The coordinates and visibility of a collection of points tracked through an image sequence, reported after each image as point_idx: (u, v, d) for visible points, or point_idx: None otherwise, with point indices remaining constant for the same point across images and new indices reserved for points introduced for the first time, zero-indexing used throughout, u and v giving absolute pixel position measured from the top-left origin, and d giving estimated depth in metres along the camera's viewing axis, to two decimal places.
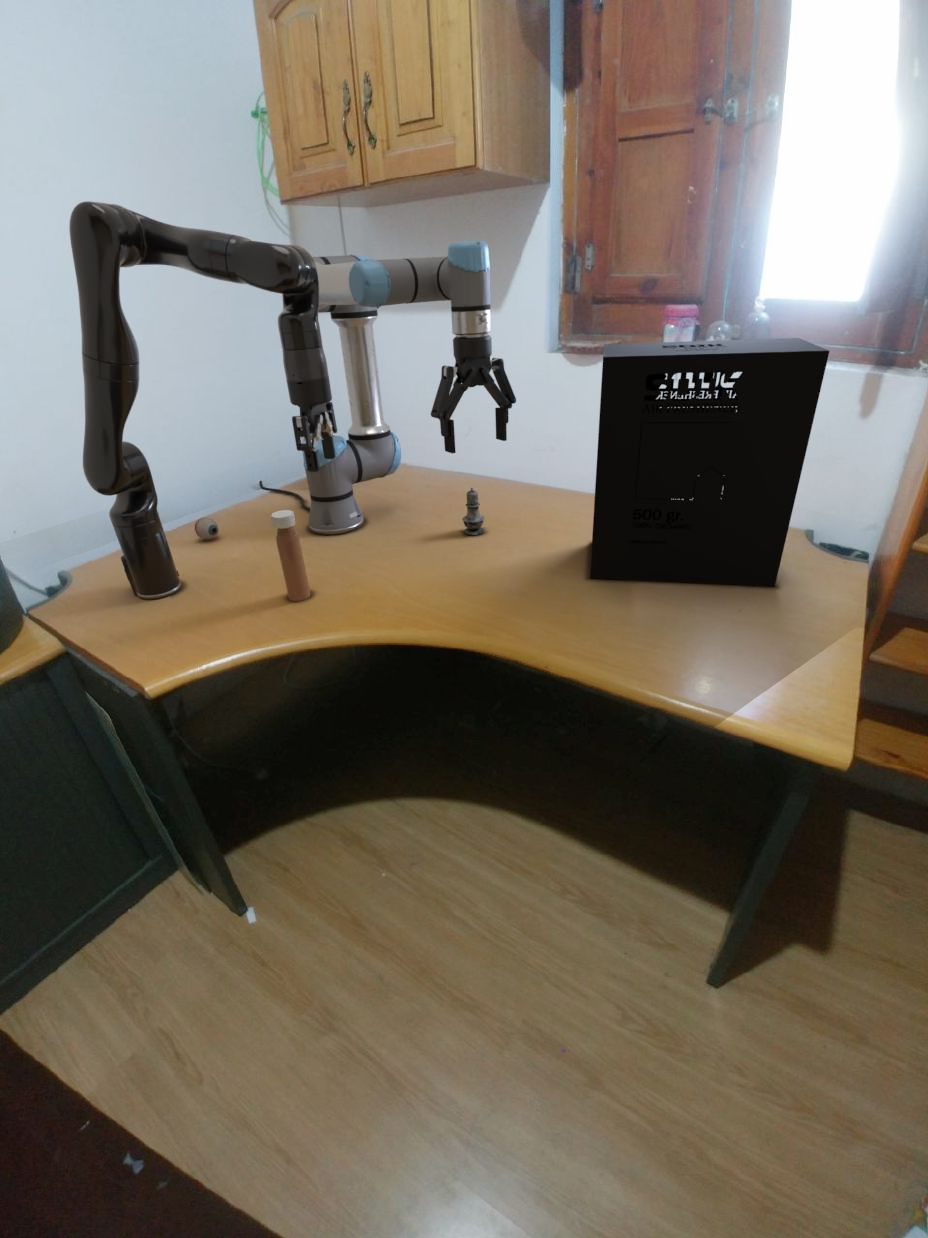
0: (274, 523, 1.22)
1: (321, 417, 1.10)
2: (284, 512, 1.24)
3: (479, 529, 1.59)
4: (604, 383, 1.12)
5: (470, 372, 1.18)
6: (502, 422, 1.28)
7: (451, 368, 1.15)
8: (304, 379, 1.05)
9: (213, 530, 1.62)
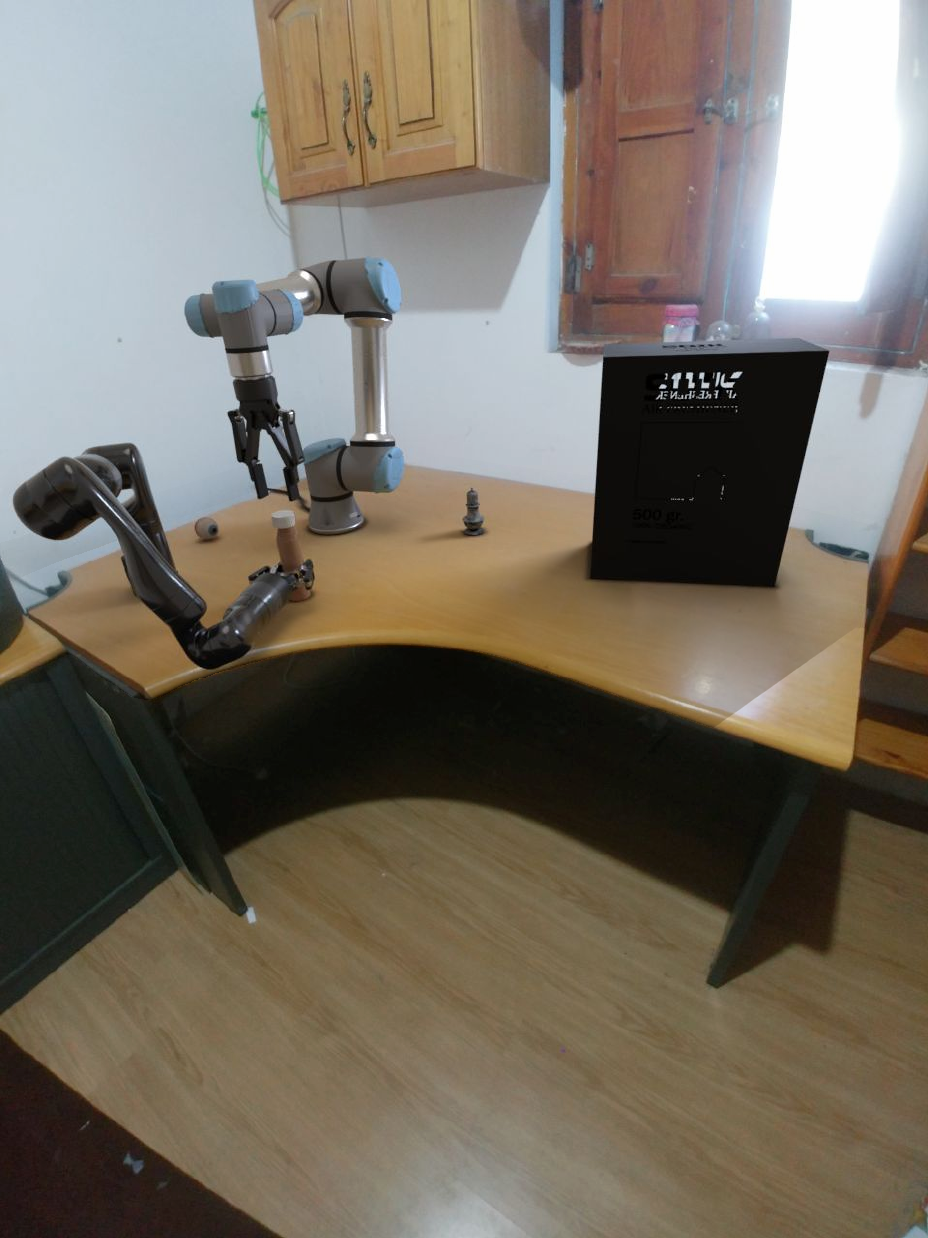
0: (274, 523, 1.23)
1: None
2: (284, 512, 1.24)
3: (479, 529, 1.59)
4: (604, 383, 1.12)
5: None
6: (263, 477, 1.21)
7: None
8: None
9: (213, 530, 1.62)
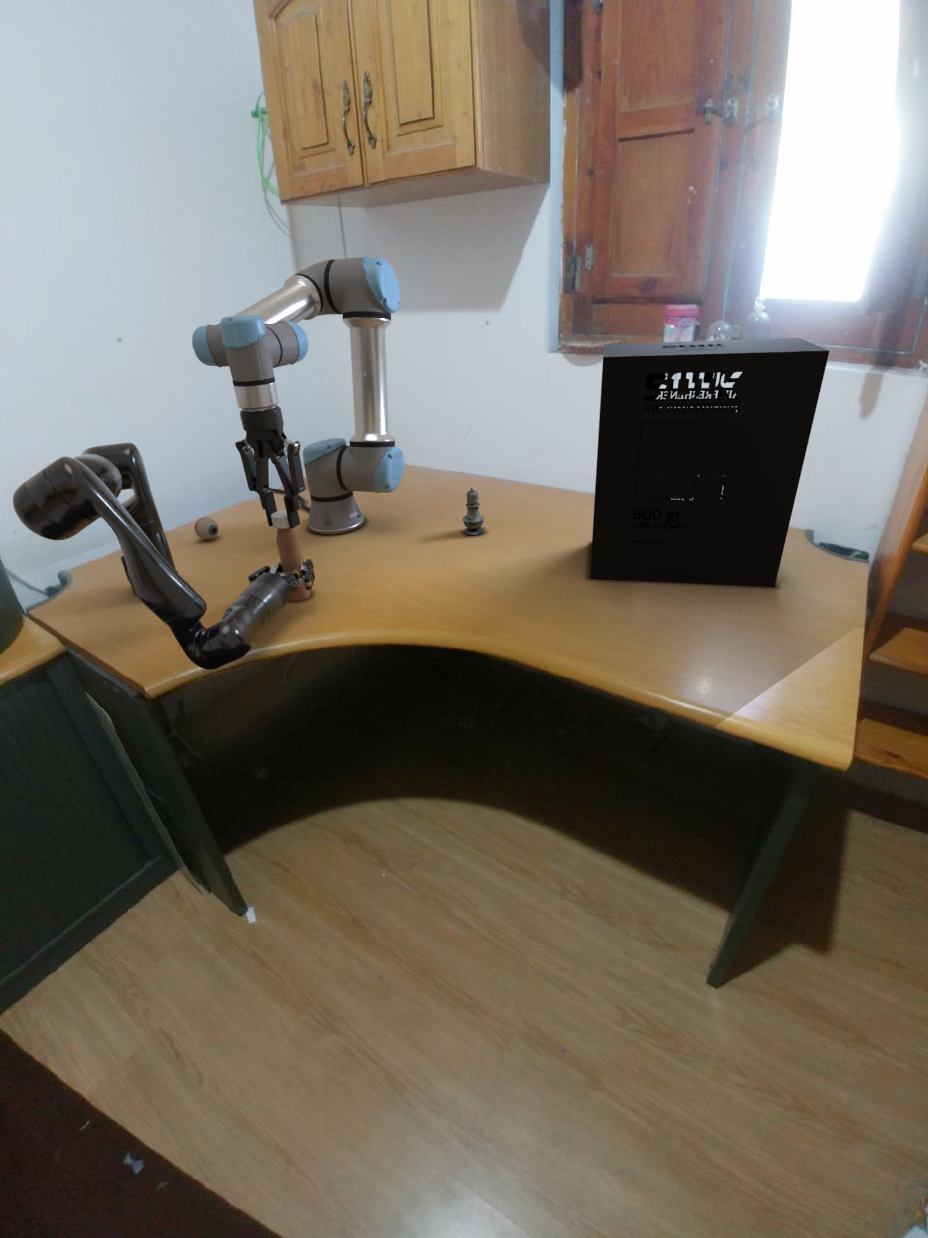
0: (274, 523, 1.22)
1: None
2: (284, 512, 1.24)
3: (479, 529, 1.59)
4: (604, 383, 1.12)
5: None
6: (274, 505, 1.24)
7: None
8: None
9: (213, 530, 1.62)
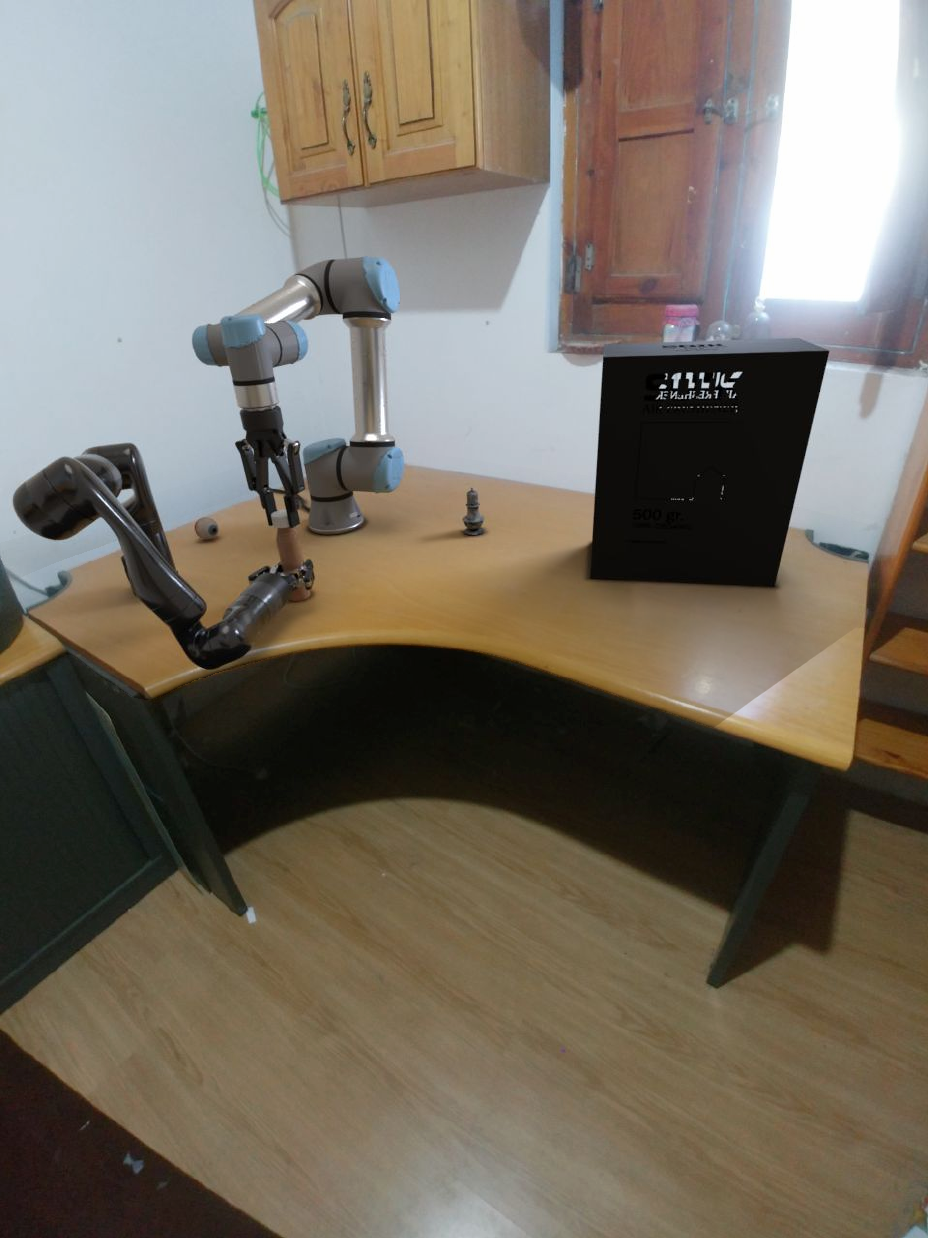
0: None
1: None
2: (278, 513, 1.23)
3: (479, 529, 1.59)
4: (604, 383, 1.12)
5: None
6: (274, 504, 1.24)
7: None
8: None
9: (213, 530, 1.62)
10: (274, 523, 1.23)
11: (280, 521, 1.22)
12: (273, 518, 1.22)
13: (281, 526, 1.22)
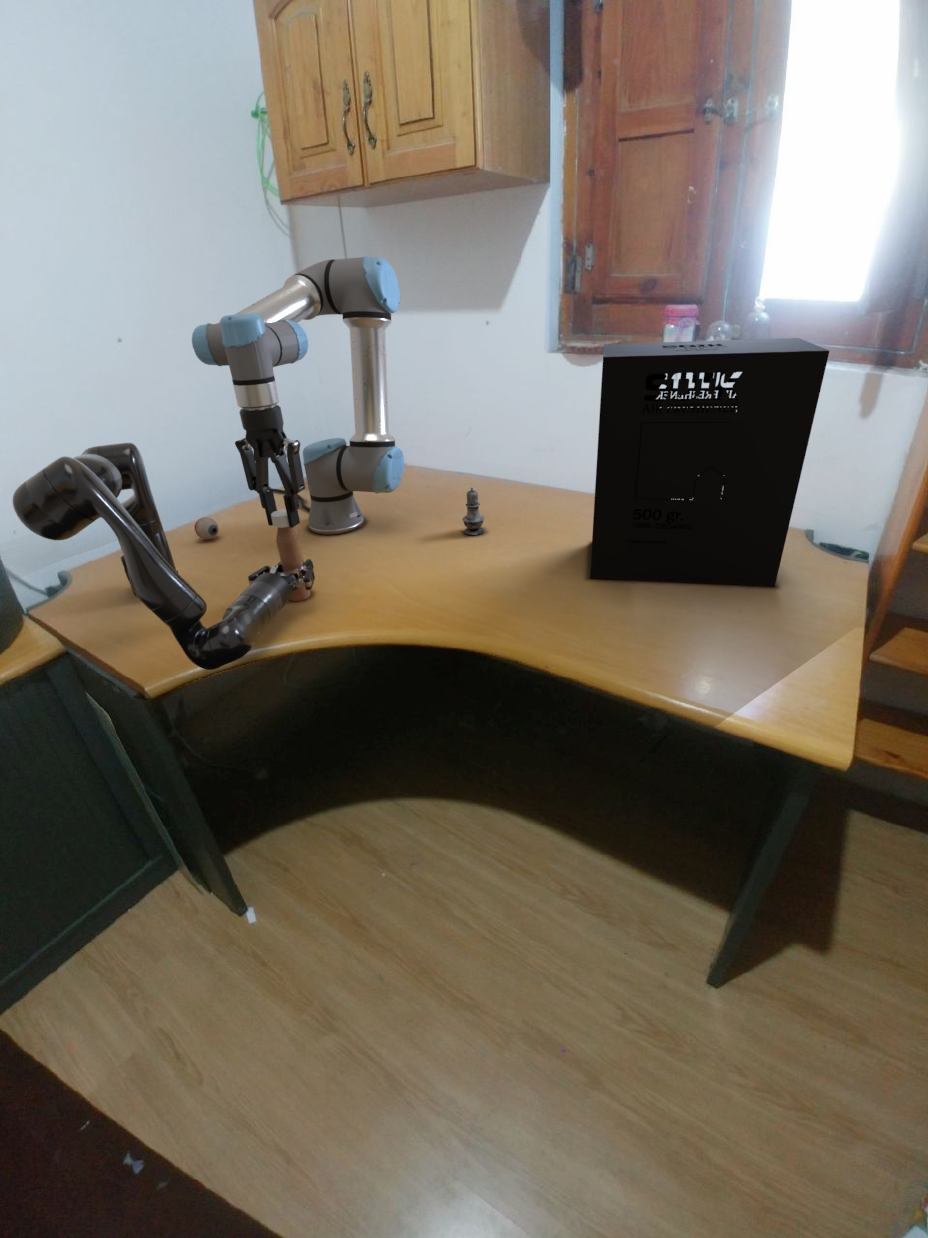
0: None
1: None
2: (282, 514, 1.23)
3: (479, 529, 1.59)
4: (604, 383, 1.12)
5: None
6: (274, 504, 1.24)
7: None
8: None
9: (213, 530, 1.62)
10: None
11: None
12: None
13: None
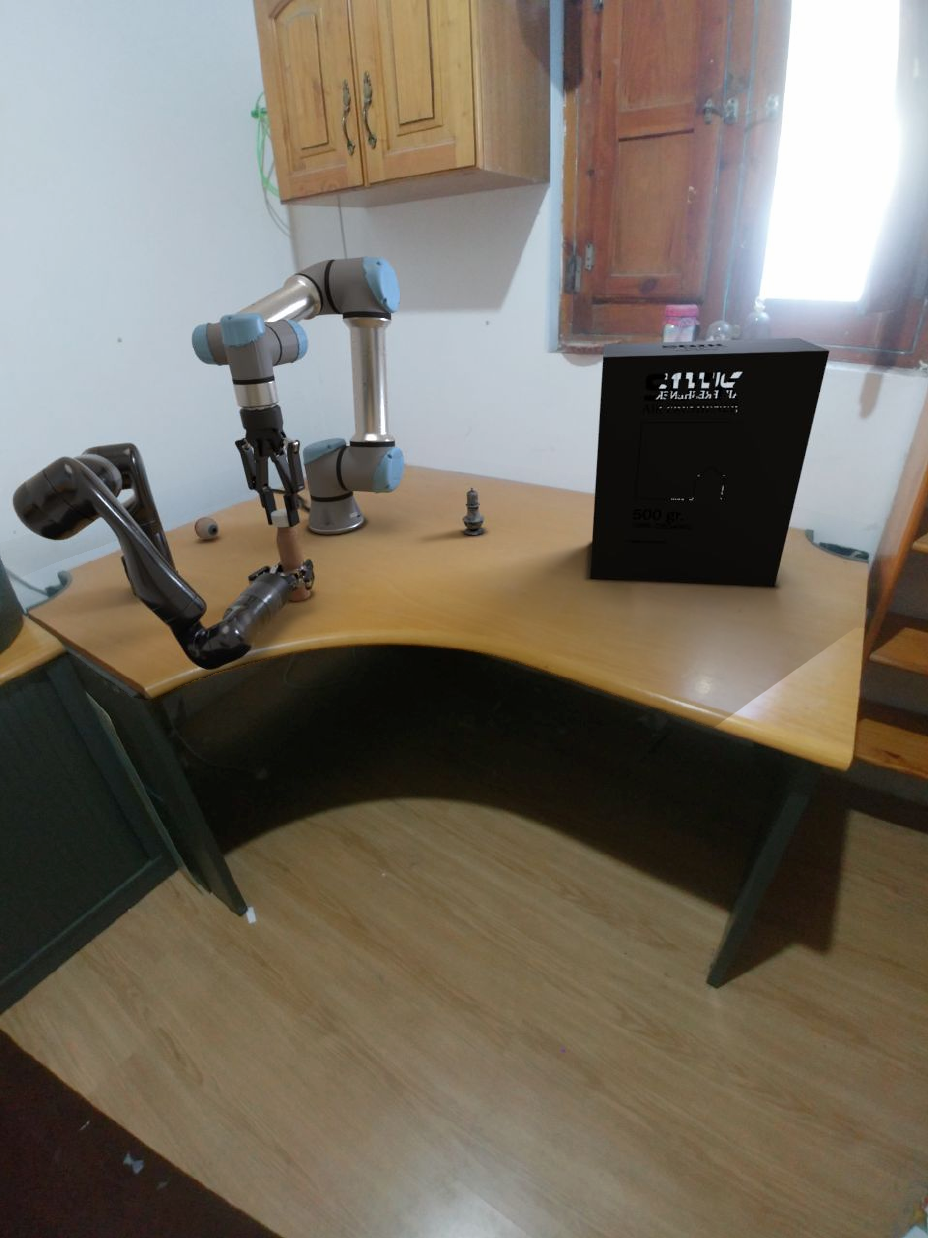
0: (272, 521, 1.23)
1: None
2: (285, 511, 1.24)
3: (479, 529, 1.59)
4: (604, 383, 1.12)
5: None
6: (274, 503, 1.24)
7: None
8: None
9: (213, 530, 1.62)
10: None
11: None
12: None
13: None
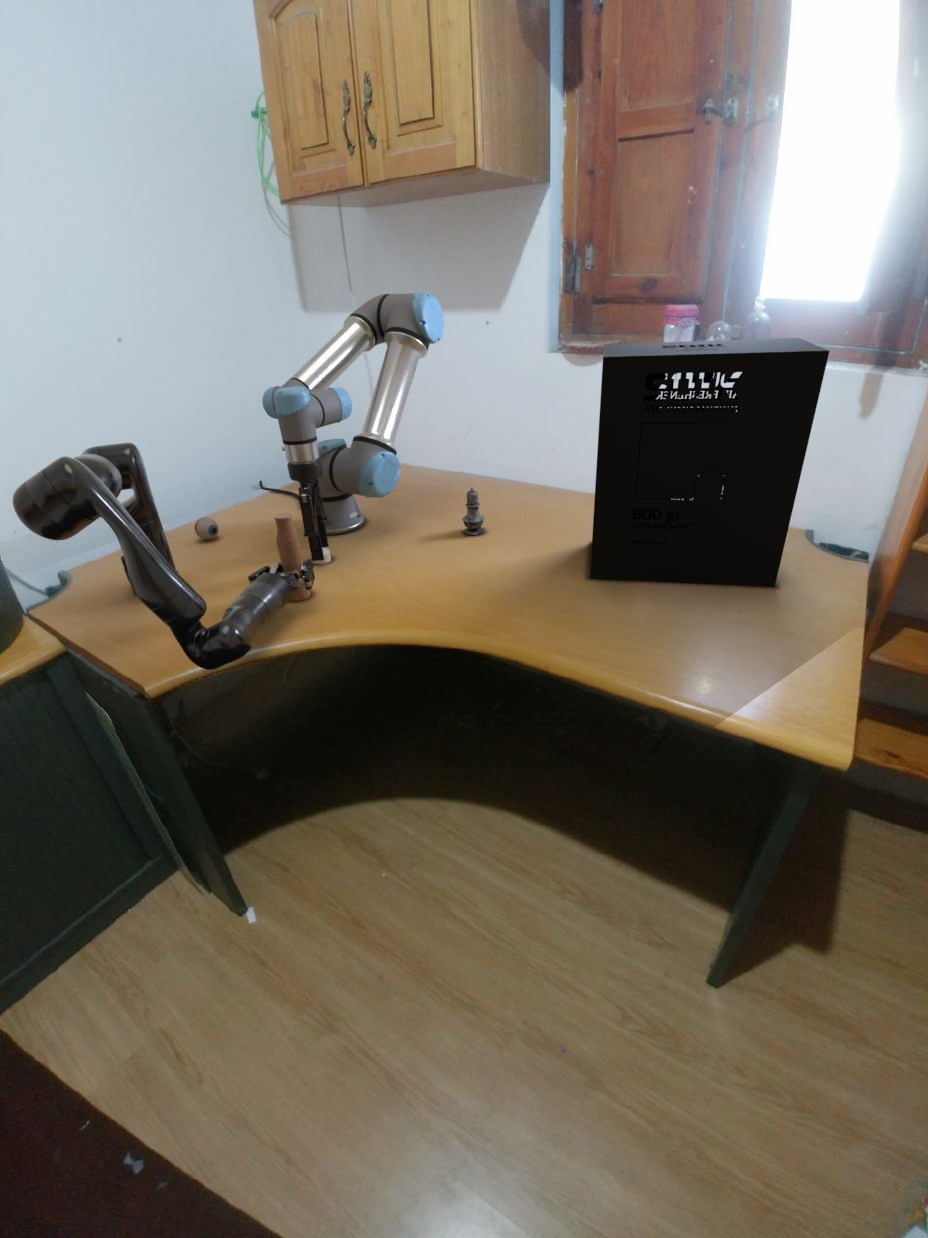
0: (327, 558, 1.47)
1: None
2: None
3: (479, 529, 1.59)
4: (604, 383, 1.12)
5: None
6: None
7: None
8: None
9: (213, 530, 1.62)
10: None
11: None
12: None
13: (316, 562, 1.47)
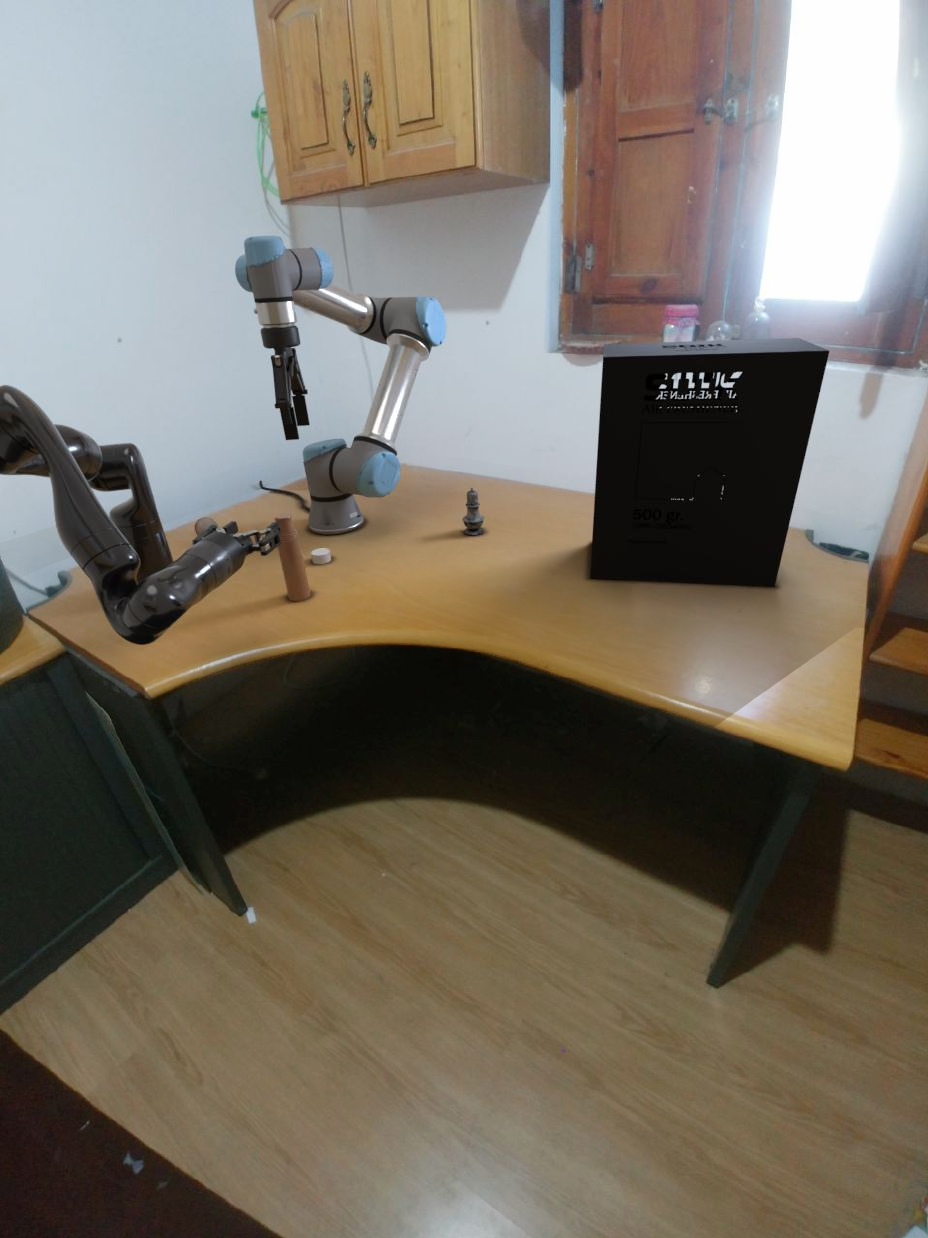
0: (327, 558, 1.47)
1: None
2: (317, 551, 1.48)
3: (479, 529, 1.59)
4: (604, 383, 1.12)
5: None
6: None
7: None
8: None
9: (213, 530, 1.62)
10: (312, 559, 1.48)
11: (316, 558, 1.46)
12: (311, 555, 1.47)
13: (316, 562, 1.47)
